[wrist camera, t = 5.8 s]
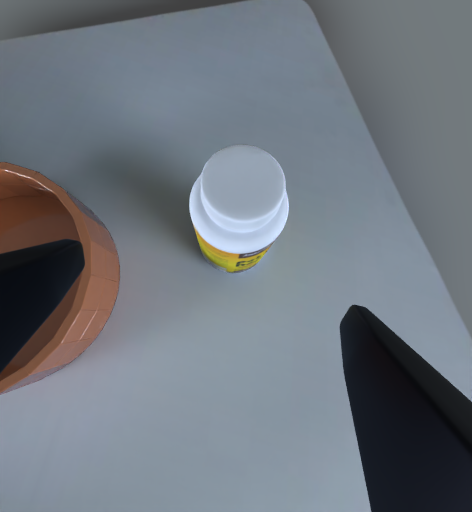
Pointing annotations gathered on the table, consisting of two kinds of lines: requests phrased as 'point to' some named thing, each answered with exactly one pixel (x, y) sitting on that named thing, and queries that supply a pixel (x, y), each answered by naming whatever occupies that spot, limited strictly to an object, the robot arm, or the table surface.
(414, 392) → the robot arm
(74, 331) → the pan
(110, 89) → the table surface
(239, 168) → the supplement bottle
